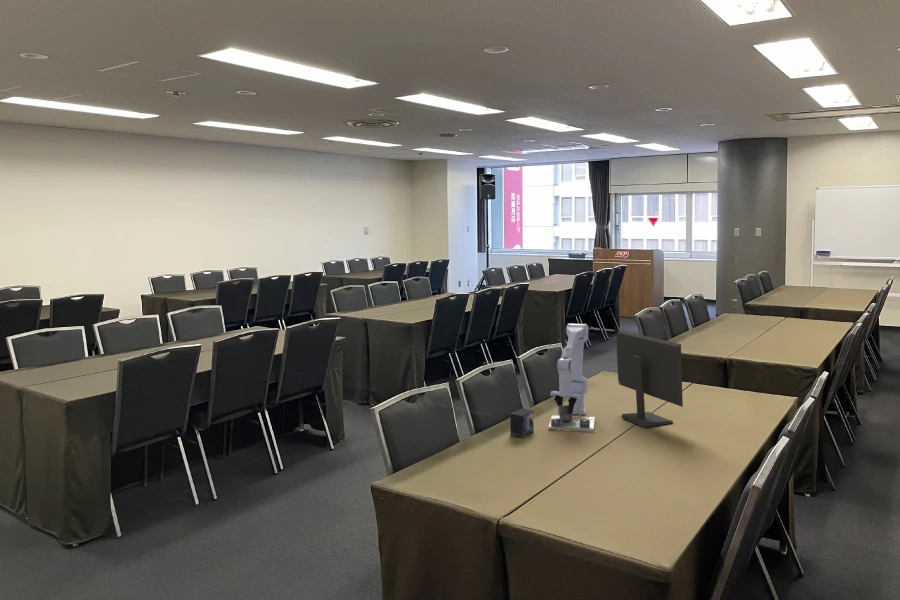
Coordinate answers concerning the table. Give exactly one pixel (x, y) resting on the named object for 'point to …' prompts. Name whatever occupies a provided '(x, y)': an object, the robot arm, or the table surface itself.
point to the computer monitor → (649, 373)
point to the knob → (565, 413)
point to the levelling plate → (578, 428)
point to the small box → (521, 423)
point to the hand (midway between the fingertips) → (565, 412)
